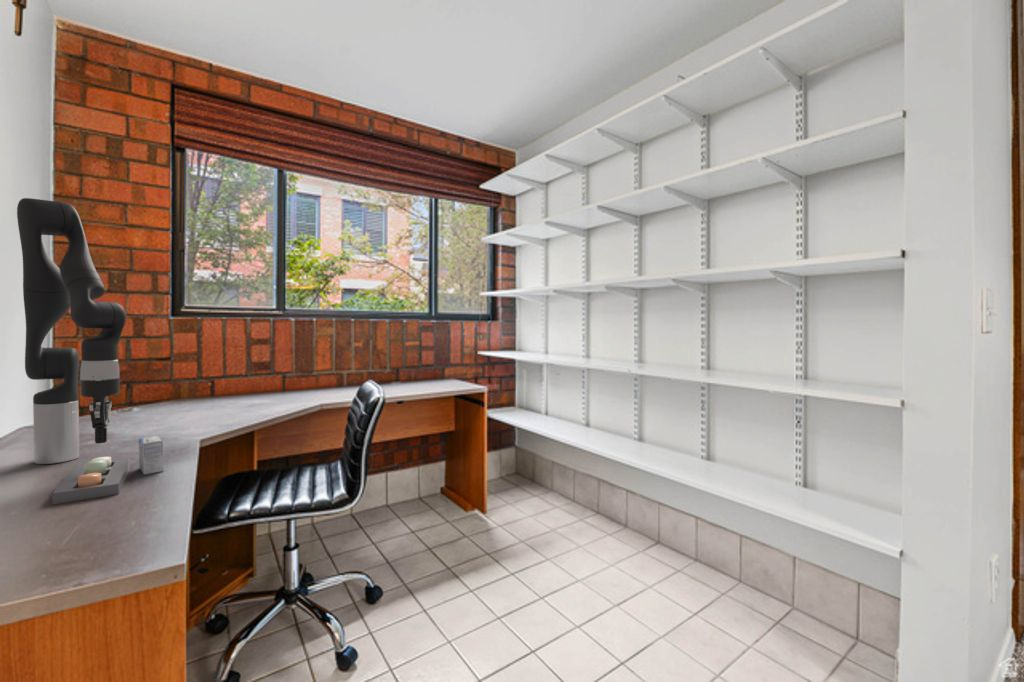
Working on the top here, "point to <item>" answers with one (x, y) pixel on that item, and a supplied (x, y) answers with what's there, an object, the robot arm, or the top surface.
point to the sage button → (96, 466)
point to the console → (109, 485)
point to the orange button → (89, 480)
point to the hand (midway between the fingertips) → (101, 442)
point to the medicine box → (151, 455)
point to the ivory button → (104, 459)
